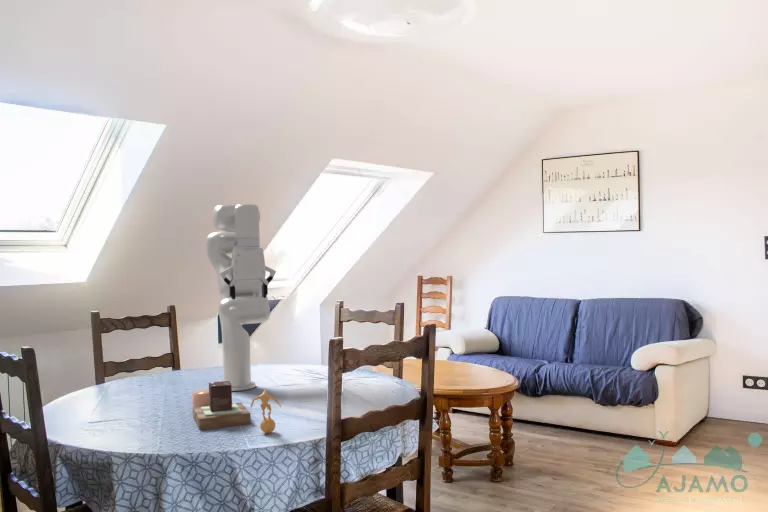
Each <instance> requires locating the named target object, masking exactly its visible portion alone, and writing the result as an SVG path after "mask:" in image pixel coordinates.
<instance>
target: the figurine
mask: <svg viewBox="0 0 768 512" xmlns="http://www.w3.org/2000/svg"><path fill="white" fill-rule="evenodd" d="M256 400H260V401H261V403H260V408H261V411H262V412H261V413H262V418H263V420H261V422H260V426H259V427H260V430H261V432H262V433H264V434H270V433H273V432H274V431H275V428H276V422H275V420H274V419H273V418H271V413H272V412H271V411H272V407H271V406H272V405H271V403H269V400H272V401H274V402H276V404H277V405H279V408H282V405H281V403H280V402H279V401H278V400H277V398H275V397H273V396H271V395H269V394H268V391H267V390H266V389H264V390H263V392H262V393H261V394H260V395H258V396H256V397H254V398H253V399H252V400H251V404H250V409H252V408H253V406H254V403H255V401H256ZM266 409H267V410H269V411H268V413H267V415H268V416H267V417H266V416H265V415H266V412H265V411H266Z"/></svg>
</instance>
